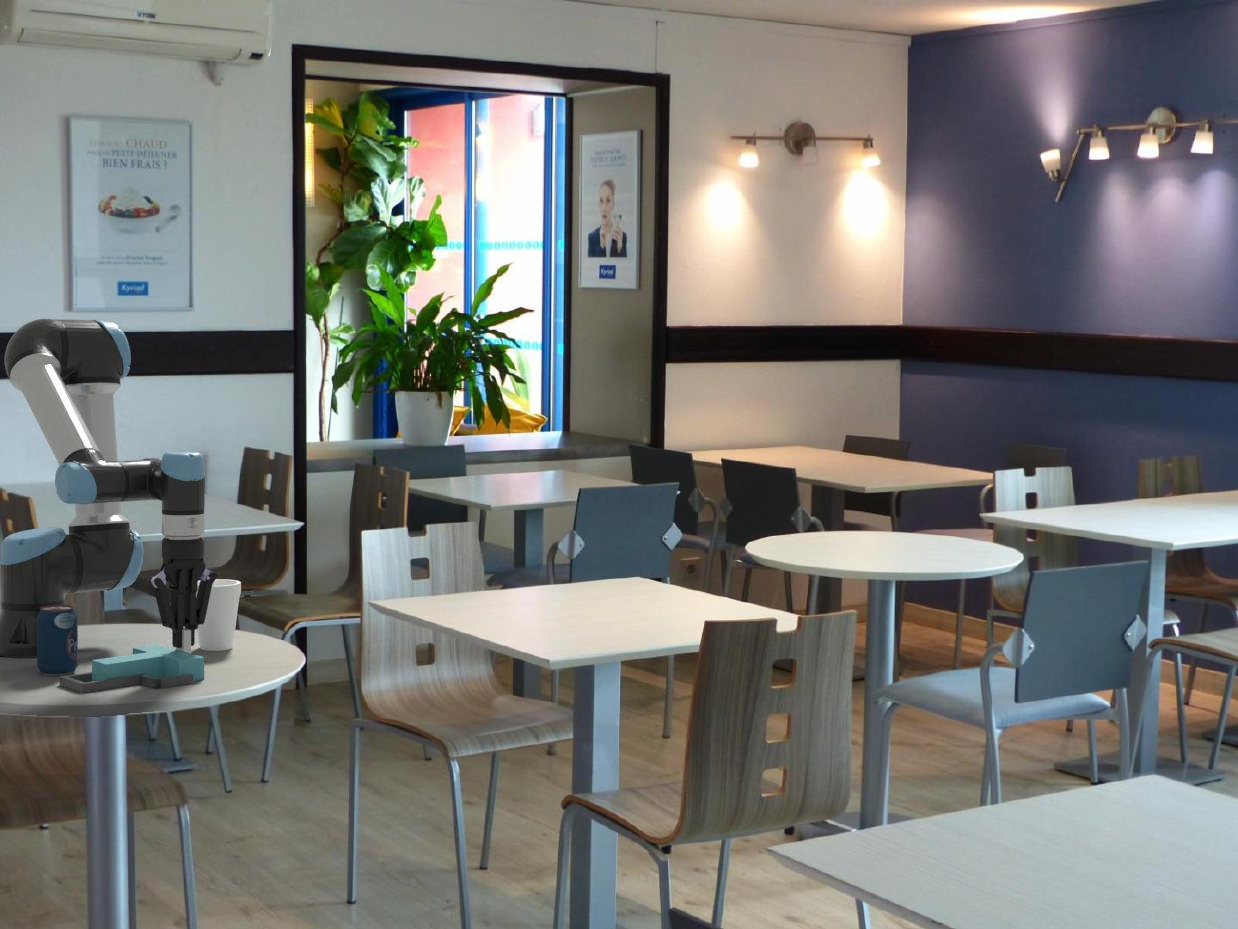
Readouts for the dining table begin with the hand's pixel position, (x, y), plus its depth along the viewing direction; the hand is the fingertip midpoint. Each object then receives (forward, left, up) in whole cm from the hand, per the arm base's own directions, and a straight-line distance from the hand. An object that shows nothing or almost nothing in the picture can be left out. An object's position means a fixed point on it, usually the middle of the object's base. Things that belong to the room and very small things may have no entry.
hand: (183, 664), depth 283 cm
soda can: (-14, -17, -2) cm, 22 cm away
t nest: (0, -12, -1) cm, 12 cm away
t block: (0, -9, -1) cm, 9 cm away
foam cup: (-16, +17, -2) cm, 23 cm away
